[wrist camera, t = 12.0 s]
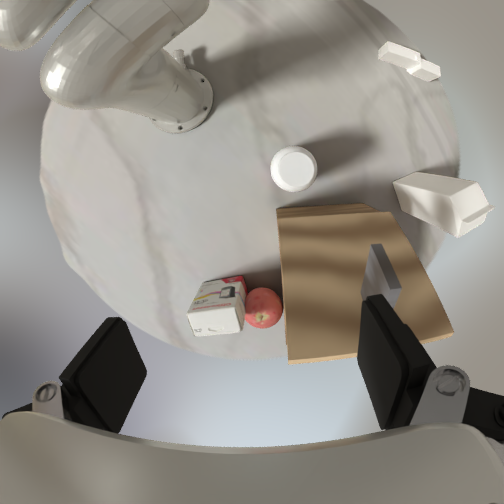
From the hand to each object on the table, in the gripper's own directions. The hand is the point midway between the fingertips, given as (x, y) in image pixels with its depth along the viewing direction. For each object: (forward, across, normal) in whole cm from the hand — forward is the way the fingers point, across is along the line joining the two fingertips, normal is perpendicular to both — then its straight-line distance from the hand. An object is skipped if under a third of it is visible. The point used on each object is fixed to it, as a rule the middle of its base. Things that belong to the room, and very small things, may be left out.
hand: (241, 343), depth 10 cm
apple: (+40, +2, +20) cm, 44 cm away
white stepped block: (+41, -32, -23) cm, 57 cm away
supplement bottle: (+40, -6, -4) cm, 41 cm away
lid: (+18, -10, +6) cm, 22 cm away
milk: (+40, -28, +2) cm, 49 cm away
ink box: (+40, +9, +17) cm, 44 cm away
